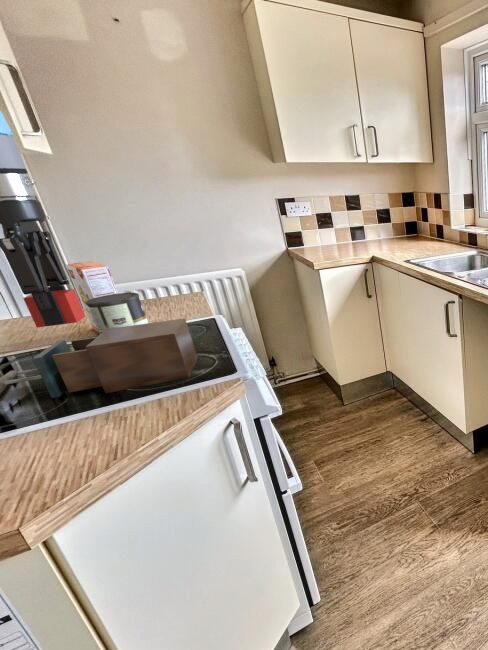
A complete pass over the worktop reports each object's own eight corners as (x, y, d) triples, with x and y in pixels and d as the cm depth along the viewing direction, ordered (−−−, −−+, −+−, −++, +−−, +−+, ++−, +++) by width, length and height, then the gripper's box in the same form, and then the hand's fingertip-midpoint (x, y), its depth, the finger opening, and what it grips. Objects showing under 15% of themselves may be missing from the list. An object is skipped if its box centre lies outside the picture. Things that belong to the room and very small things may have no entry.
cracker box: (93, 334, 125) (64, 264, 118) (119, 328, 130) (92, 260, 122) (108, 342, 118) (78, 268, 110) (135, 335, 123) (108, 264, 115)
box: (36, 327, 82) (22, 298, 80) (47, 321, 86) (34, 292, 84) (77, 322, 85) (64, 293, 82) (85, 316, 88) (74, 288, 86)
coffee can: (143, 339, 120) (125, 291, 114) (164, 344, 115) (146, 294, 110) (98, 352, 111) (76, 300, 106) (119, 358, 107) (97, 304, 102)
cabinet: (105, 393, 88) (85, 346, 84) (123, 371, 99) (106, 329, 95) (189, 377, 94) (174, 333, 91) (198, 358, 105) (185, 318, 101)
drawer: (-6, 408, 81) (-28, 367, 78) (24, 385, 91) (5, 348, 88) (135, 382, 91) (120, 345, 87) (149, 364, 100) (136, 329, 97)
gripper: (11, 200, 71) (68, 330, 79) (57, 197, 86) (101, 307, 94) (-53, 202, 68) (13, 337, 76) (6, 199, 82) (56, 312, 91)
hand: (61, 320), depth 85 cm, fingers closed on box, 4 cm apart
